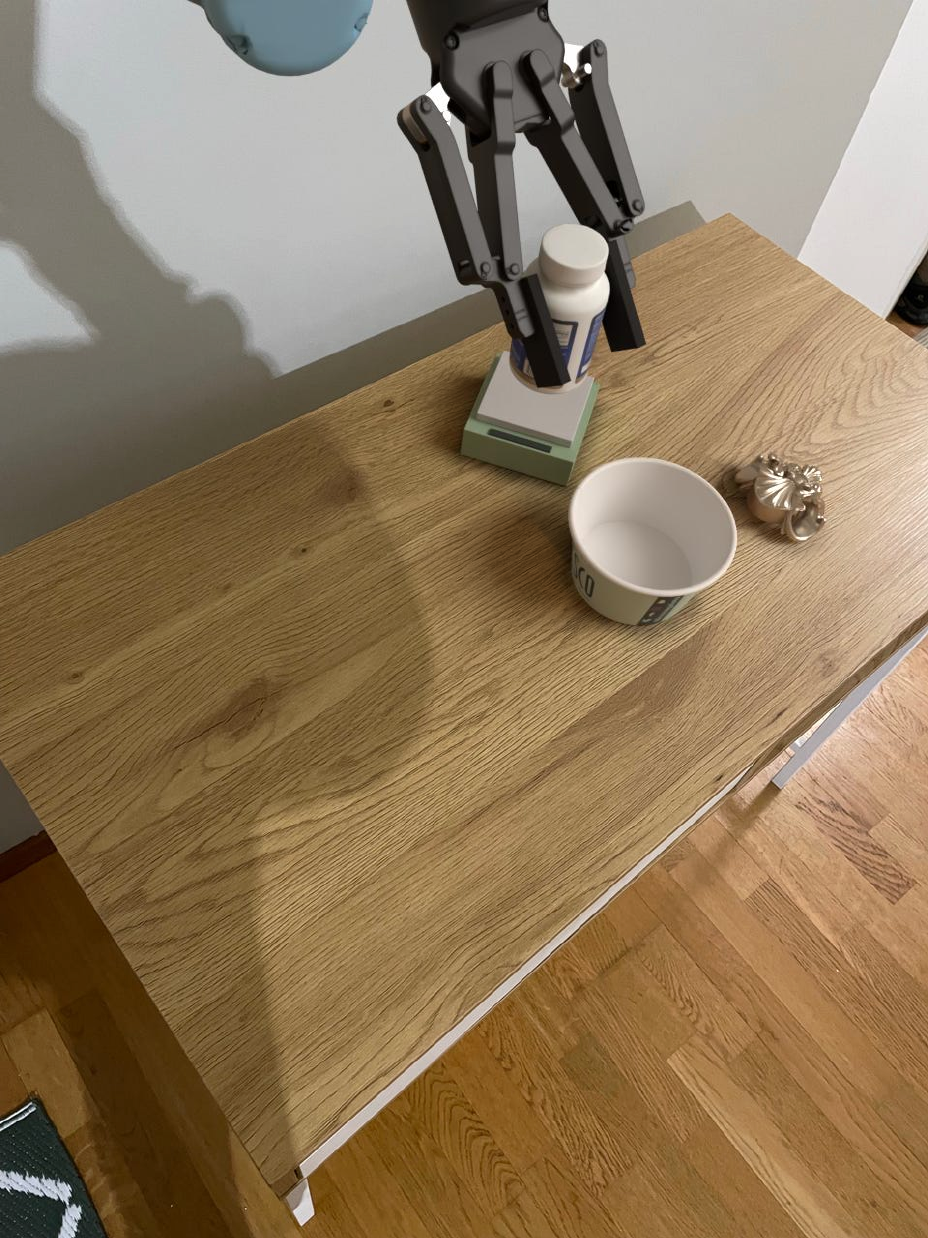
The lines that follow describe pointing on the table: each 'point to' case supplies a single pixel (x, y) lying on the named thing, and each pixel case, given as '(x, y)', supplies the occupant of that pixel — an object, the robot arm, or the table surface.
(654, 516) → the food container
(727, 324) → the table surface
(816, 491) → the ornament
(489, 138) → the robot arm
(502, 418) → the scale
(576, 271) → the pill bottle
